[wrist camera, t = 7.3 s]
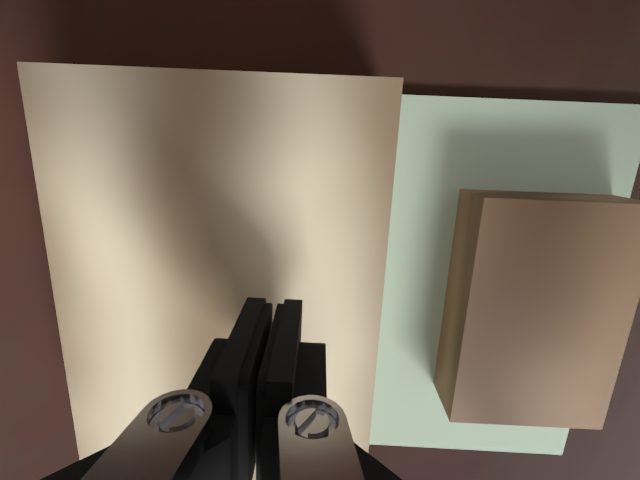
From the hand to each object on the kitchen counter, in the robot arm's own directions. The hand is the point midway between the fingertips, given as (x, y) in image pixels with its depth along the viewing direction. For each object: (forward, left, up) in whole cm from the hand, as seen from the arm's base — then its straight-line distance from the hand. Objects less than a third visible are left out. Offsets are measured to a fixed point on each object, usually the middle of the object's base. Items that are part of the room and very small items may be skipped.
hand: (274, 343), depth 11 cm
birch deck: (+2, 0, -5) cm, 6 cm away
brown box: (-10, 0, -3) cm, 10 cm away
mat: (-8, 0, -5) cm, 10 cm away
